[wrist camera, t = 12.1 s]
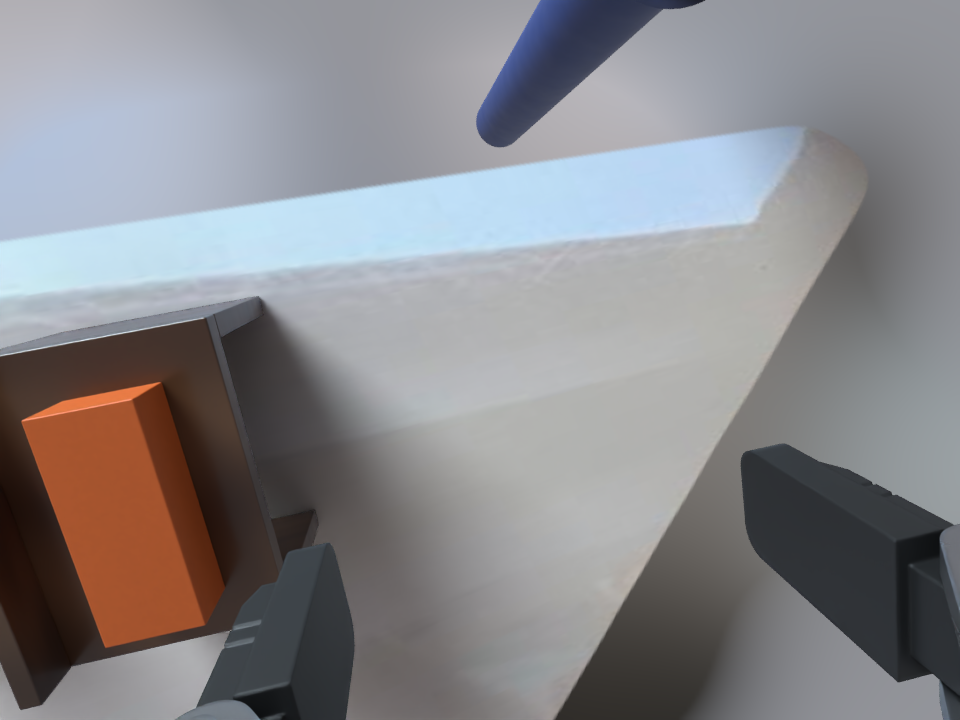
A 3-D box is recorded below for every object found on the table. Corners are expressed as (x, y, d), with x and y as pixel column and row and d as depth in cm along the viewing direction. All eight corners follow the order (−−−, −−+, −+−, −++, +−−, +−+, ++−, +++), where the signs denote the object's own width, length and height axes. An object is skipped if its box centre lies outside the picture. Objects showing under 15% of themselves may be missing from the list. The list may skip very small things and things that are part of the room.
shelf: (60, 332, 36) (-119, 381, 24) (259, 295, 37) (185, 324, 24) (139, 564, 39) (19, 711, 27) (318, 525, 40) (280, 649, 28)
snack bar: (61, 400, 27) (20, 420, 24) (162, 381, 27) (132, 398, 24) (135, 608, 29) (105, 648, 26) (225, 587, 30) (206, 625, 27)
